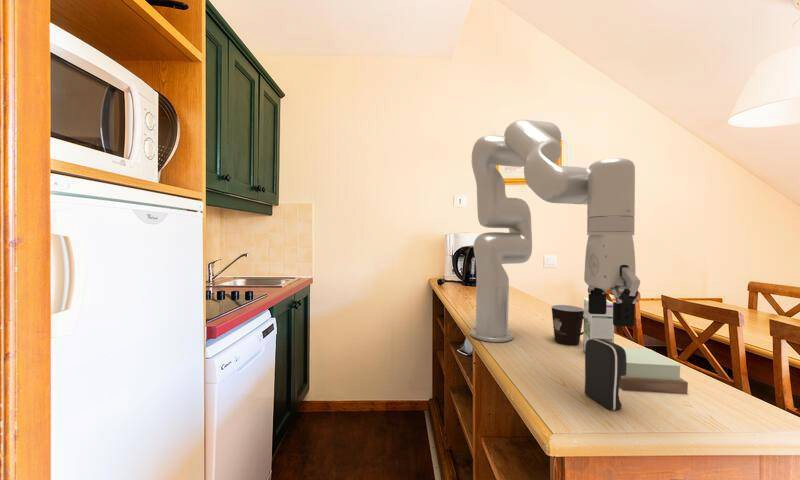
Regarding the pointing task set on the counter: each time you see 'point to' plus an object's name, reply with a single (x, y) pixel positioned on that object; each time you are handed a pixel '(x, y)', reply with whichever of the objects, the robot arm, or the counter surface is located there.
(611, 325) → the syrup box
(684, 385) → the tower base
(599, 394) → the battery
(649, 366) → the tower top
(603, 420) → the counter surface
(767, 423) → the counter surface
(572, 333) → the coffee mug
